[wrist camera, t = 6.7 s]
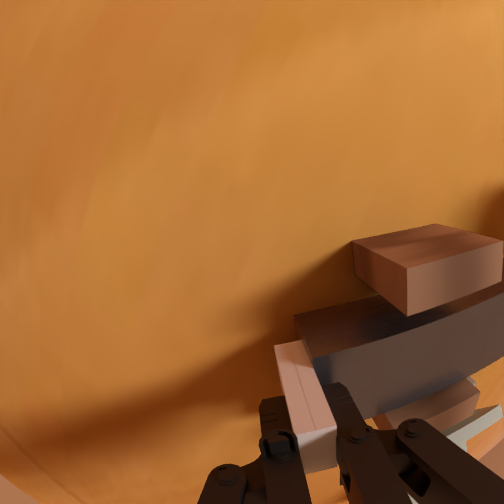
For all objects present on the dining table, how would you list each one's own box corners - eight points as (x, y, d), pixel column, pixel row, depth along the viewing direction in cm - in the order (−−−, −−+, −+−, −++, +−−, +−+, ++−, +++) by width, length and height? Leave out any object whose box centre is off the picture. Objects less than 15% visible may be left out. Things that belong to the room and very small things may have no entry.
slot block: (359, 395, 18) (391, 453, 12) (351, 240, 16) (406, 268, 10) (430, 369, 18) (472, 414, 12) (435, 223, 16) (503, 240, 10)
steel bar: (302, 380, 18) (319, 432, 13) (292, 312, 17) (312, 358, 12) (493, 313, 18) (532, 336, 13) (498, 255, 17) (543, 271, 12)
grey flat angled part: (389, 475, 21) (408, 514, 16) (404, 404, 19) (436, 451, 13) (445, 450, 21) (468, 483, 16) (469, 374, 19) (506, 409, 13)
